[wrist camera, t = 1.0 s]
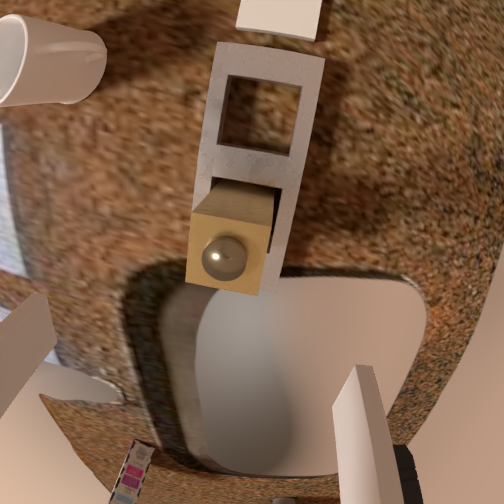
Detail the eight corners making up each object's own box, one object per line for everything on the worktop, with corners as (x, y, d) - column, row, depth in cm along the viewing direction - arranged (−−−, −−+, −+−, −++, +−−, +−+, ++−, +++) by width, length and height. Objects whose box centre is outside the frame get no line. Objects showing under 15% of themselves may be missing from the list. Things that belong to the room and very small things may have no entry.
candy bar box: (132, 437, 51) (107, 503, 36) (156, 447, 51) (134, 514, 36) (127, 455, 55) (105, 512, 40) (147, 463, 56) (128, 521, 41)
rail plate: (222, 47, 24) (217, 41, 22) (321, 63, 24) (325, 58, 22) (192, 263, 33) (186, 274, 31) (276, 279, 33) (275, 291, 31)
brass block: (222, 178, 29) (188, 216, 18) (275, 187, 29) (271, 231, 18) (215, 226, 31) (182, 287, 21) (265, 236, 31) (256, 302, 20)
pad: (249, -30, 20) (249, -34, 19) (324, -18, 20) (325, -22, 19) (237, 29, 23) (235, 26, 22) (313, 41, 23) (315, 39, 22)
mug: (142, 26, 23) (74, -8, 12) (127, 105, 27) (49, 108, 16) (54, 35, 23) (-21, 23, 12) (43, 104, 27) (-36, 114, 16)
